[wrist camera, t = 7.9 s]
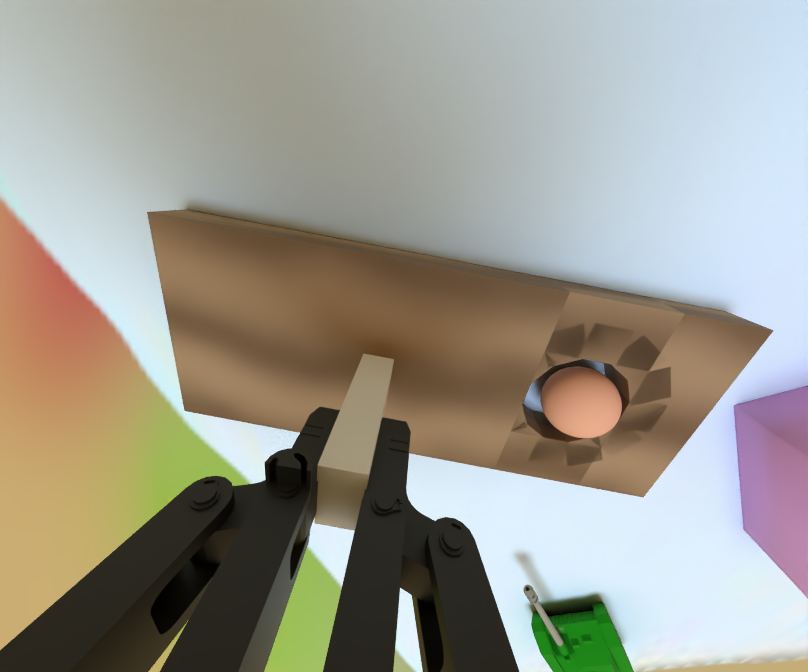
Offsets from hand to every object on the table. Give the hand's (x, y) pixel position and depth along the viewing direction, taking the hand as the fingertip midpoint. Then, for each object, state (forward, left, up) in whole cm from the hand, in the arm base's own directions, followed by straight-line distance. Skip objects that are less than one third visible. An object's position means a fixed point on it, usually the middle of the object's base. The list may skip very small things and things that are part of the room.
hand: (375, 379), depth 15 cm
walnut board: (0, +3, -4) cm, 5 cm away
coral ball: (0, +12, -2) cm, 12 cm away
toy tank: (+25, +21, -5) cm, 33 cm away
